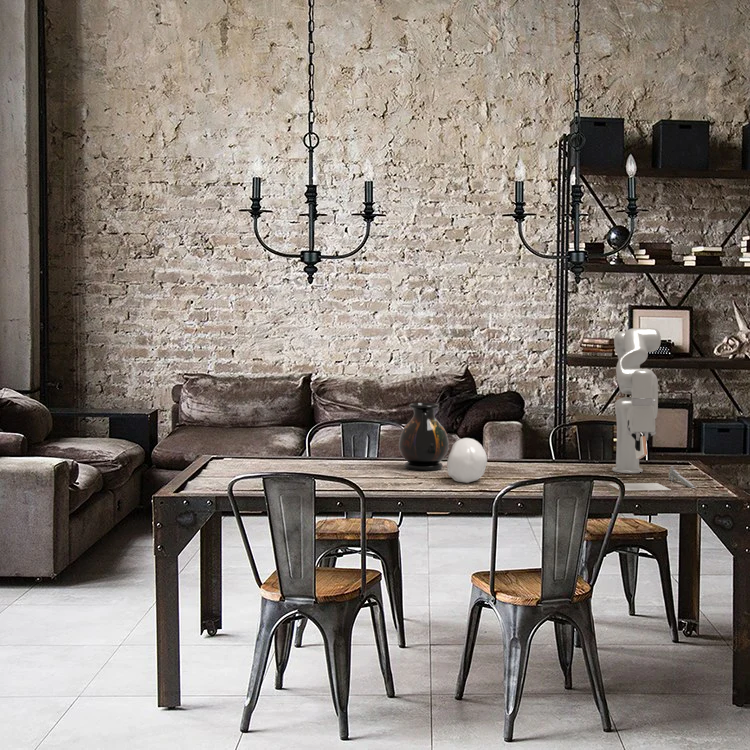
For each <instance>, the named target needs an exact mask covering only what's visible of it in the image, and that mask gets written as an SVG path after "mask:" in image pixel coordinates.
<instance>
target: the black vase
mask: <svg viewBox="0 0 750 750" xmlns="http://www.w3.org/2000/svg"><path fill="white" fill-rule="evenodd" d="M408 406H409V408H411V409H412V410H413V416H412V418H411V419H410V420H409V421H408V422H407V424H406V425H405V426H404V427H403V429H402V430H401V432H400V436H399V440H398V449H399V453H400V455H401V456H402V457H403V459H404V460H405V461H406V462H405V463H404V468H406V469H408V470H411V471H417V472H418V471H419V472H421V471H422V472H424V471H425V472H427V471H428V472H429V471H430V472H431V471H438V470H440V469H442V468H443V465H444V464H443V463H442V461H443V460H444V458H446V455H447V454H448V452H449V448H450V447H449V445H450V443H449V437H448V434H447V431H446V429H445V428H444V426H443V425H442V424H441V422H439V420H438V419H437V417H436V416H435V409H438V408H439V407H440V405H439V404H438V403H433V402H413V403H410V404H408Z"/></svg>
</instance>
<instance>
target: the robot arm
mask: <svg viewBox="0 0 750 750" xmlns="http://www.w3.org/2000/svg"><path fill="white" fill-rule="evenodd" d="M613 342H614V343H613V344H614V345H613V346H614V349H615V352H616V354H617V358H618V360H617V363H616V366H615V371H616V372H615V373H616V381H617V384H618V386H619V387H618V388H619V391H620V393H621V394H624V395H625V394H626V395H631V397H628V396H627V397H620V398H618V399H617V400H616V402H615V405H614V411H615V417H616V419H615V420H616V453H615V454H616V455H615V456H616V457H615V466H613V467H612V471H613V472H614V473H622V474H641V473H643V468H641V467H640V459H636V452H635V449H636V450H637V451H640V441H639V440H640V439H639V438H640V437H641V433H642V436H645V437H646V443H647V441H648V440H649V439H650V437H653V436H656V434H657V431H656V419H657V417H658V413H659V411H658V410H659V409H658V408H659V407H658V406H659V405H658V404H659V382H658V381H659V380H658V377H657V375H656V373H654V371H653V370H652V369H650V368H641V365H642V364H643V363H644V362H646V360H647V359H648V355H649V354H648V353H653V352H655V351H657V350H658V349H659V348H660V346H661V343H662V337H661V333H660V331H659V330H658V329H657V328H653V327H652V328H651V327H650V328H648V327H647V328H646V327H645V328H644V327H634V328H629V329H627V330H625V331H619V332H617V333H615V335H614V337H613ZM634 441H635V442H634ZM640 472H641V473H640Z"/></svg>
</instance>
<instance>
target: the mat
mask: <svg viewBox="0 0 750 750" xmlns="http://www.w3.org/2000/svg"><path fill="white" fill-rule="evenodd" d="M623 483H624V485H625V492H626V491H672V489H671V488H668V487H666V486H665V485H662V484H661V483H658V482H626V483H625V482H623ZM608 485H610V486H612V487H613V488H615V489H617V490H619V487H618V485H617V484H616V483H608Z"/></svg>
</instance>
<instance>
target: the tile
mask: <svg viewBox="0 0 750 750" xmlns="http://www.w3.org/2000/svg"><path fill="white" fill-rule="evenodd" d="M639 439H640V440H639V441H640V451H637V450H636V449H635V452H636V459H639V460H641V459H642V458H644V457H645V456H647V455H648V449H647V448H648V447H647V442H646V437H645V436H643V435H642V436H641V435H640V438H639ZM634 442H635V441H634Z"/></svg>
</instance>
